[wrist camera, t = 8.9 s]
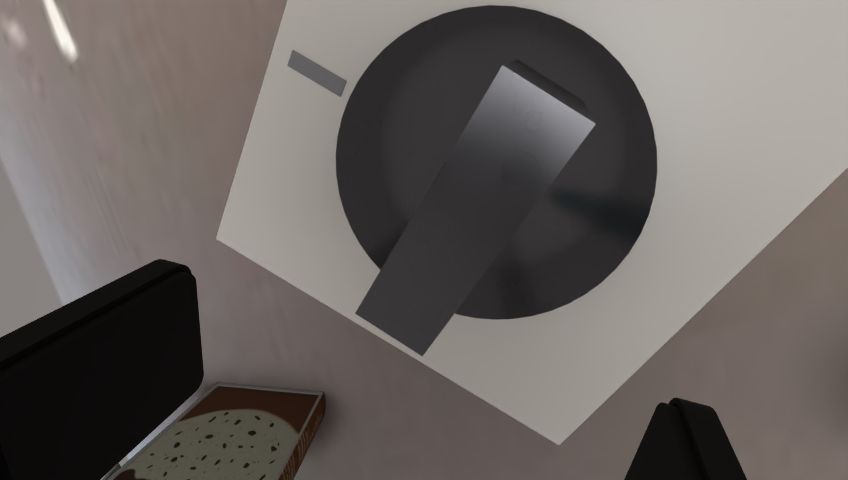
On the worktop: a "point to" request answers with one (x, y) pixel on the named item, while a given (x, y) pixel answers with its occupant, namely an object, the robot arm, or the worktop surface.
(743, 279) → the worktop surface
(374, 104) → the dial
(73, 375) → the robot arm
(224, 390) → the food container
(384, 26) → the dial plate
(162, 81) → the worktop surface
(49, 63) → the worktop surface
